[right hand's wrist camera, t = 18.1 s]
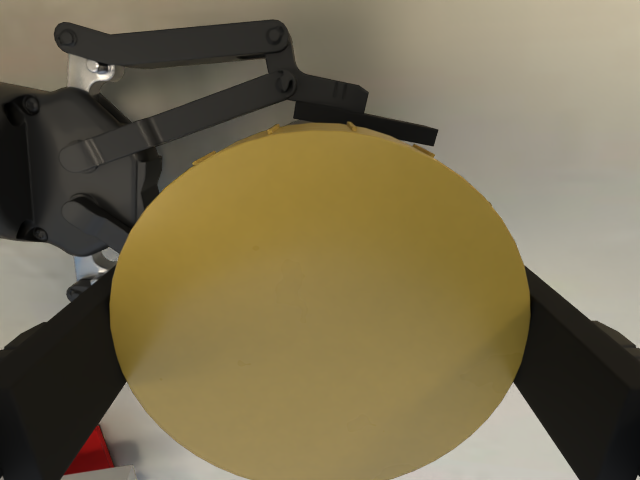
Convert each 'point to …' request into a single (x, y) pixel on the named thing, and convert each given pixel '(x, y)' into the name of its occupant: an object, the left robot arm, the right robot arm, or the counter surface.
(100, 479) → the toy
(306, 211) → the lid
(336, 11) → the counter surface
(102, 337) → the right robot arm
